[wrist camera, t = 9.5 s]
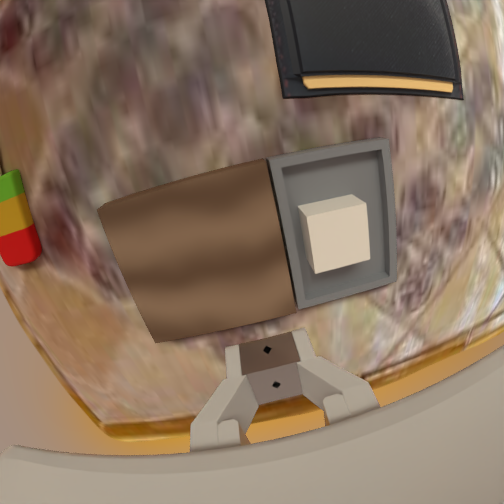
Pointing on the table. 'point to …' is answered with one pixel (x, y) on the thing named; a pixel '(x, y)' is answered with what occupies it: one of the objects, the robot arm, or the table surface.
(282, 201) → the box
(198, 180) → the ramp
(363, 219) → the cream rectangular block
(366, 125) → the table surface
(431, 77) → the wallet
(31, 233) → the popsicle
